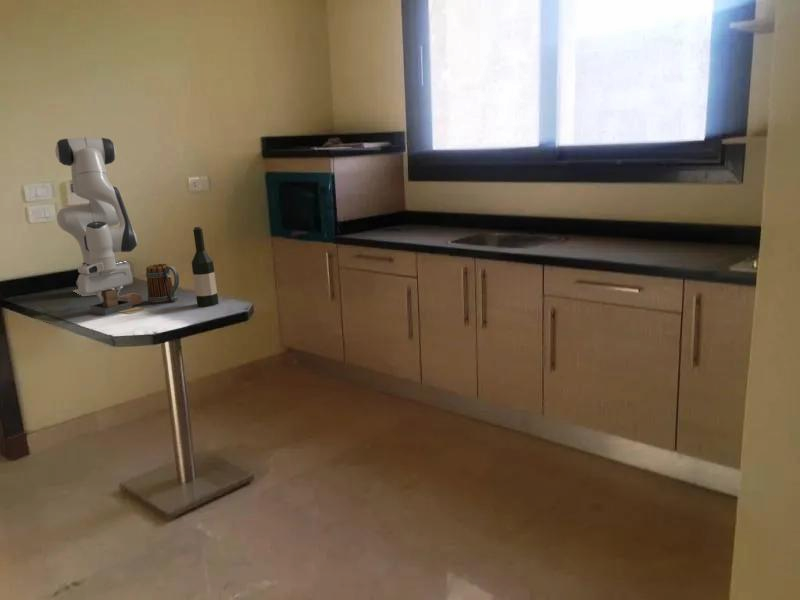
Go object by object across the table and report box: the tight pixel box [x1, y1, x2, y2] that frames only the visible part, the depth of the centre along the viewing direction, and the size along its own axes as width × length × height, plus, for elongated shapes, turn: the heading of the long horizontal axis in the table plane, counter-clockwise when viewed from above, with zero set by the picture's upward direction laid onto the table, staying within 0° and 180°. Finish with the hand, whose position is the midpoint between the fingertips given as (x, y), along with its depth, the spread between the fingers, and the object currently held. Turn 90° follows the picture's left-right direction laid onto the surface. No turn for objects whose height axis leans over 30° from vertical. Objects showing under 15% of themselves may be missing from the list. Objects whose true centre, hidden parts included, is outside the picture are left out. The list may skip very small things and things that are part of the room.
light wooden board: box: [118, 306, 149, 315], centre depth 256 cm, size 8×8×1 cm
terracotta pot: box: [118, 292, 143, 306], centre depth 268 cm, size 6×6×4 cm
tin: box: [89, 299, 133, 316], centre depth 258 cm, size 11×11×3 cm
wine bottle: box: [190, 226, 219, 308], centre depth 256 cm, size 8×8×30 cm
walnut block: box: [101, 289, 118, 308], centre depth 258 cm, size 4×4×7 cm
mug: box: [145, 263, 180, 305], centre depth 267 cm, size 16×11×15 cm
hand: (109, 300), depth 258 cm, fingers closed on walnut block, 4 cm apart
